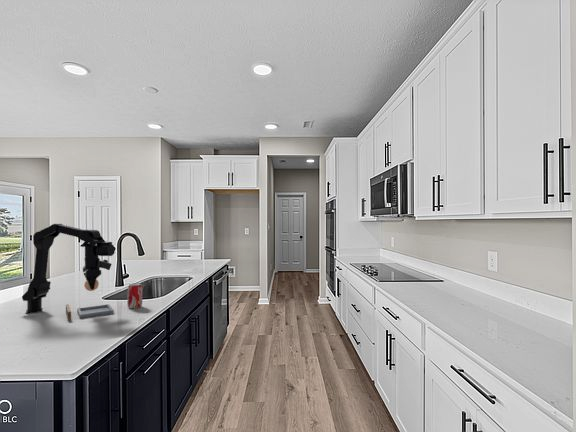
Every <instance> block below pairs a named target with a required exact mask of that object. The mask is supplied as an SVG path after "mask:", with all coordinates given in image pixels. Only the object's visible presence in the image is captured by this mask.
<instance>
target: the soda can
mask: <svg viewBox="0 0 576 432" xmlns="http://www.w3.org/2000/svg"><path fill="white" fill-rule="evenodd" d="M126 294H127V307H128V308H129V309H131V308H135V309H140V308H141V307H142V306H143V286H142V283H139V282H137V283H135V282H134V283H129V284H128V286H127V293H126Z"/></svg>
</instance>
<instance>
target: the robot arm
mask: <svg viewBox="0 0 576 432" xmlns="http://www.w3.org/2000/svg"><path fill="white" fill-rule="evenodd" d="M100 232H101V231H99V230H98V229H82V228H77V227H73V226H69V225H65V224H62V223H53V224H50V225H49V226H48V227H45V228H43V229H41V230H39V231H36V232H35V233H33V236H32V238H33V239H32V241H33V245H34V248H35V250H36V252H35V262H34V271H33V278H32V280H31V281H30V282H29V283H28V288H27V290H26V292H25V293H24V294H23V295H22V296H21V298H22V301H23V302H26V303H27V305H26V308H27V309H26V311H25V314H26V315H27V314H34V313H42V312H44V311H43V306H42V305H43V304H42V303H43V302H42V301H43V299H42V298H46V297H47V295H48V293H49V290H51V283H52V282H51V281H50V280H49V281H48V278H47V269H48V262H49V261H48V260H49V251H50V249H51V247H52V246H53V244H54V241H55V238H57V237H58V236H59V235H60V234H63V235H68V236H71V237H76V238H78V239H79V240H80V241H83V243H82V244H81V245H80V248H81V247H82V248H84V266H83V267H82V273H83V276H84V277H85V281H88V283H89V286H90V288H91V289H94V286H95V282H96V280H98V278H99V277H100V276H101V275H102V270H101V269H104V270H108V271H110V269H111V267H112V263H111V262H109V260H108V259H103V260H101V259H100V257H112V256H114V254H115V252H116V248H115V246H114V244H113V242H112V241H105V239H104V238H103V237H102V235H101V233H100ZM100 268H101V269H100Z"/></svg>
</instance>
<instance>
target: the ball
mask: <svg viewBox="0 0 576 432" xmlns="http://www.w3.org/2000/svg"><path fill="white" fill-rule="evenodd" d="M99 285H100V283H99V281H98V279H96V282H95V286H94V289H91V288H90V286H89V283H88V281H87V280H85V282H84V285H83V286H84V288H85V289H86V291H90V292H93V291H96V290H97V289H98V287H99Z"/></svg>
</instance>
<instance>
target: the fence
mask: <svg viewBox="0 0 576 432" xmlns="http://www.w3.org/2000/svg"><path fill="white" fill-rule="evenodd" d="M65 314H66V318H67V322H69V321H72V309H71V307H70V304H65Z"/></svg>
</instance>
